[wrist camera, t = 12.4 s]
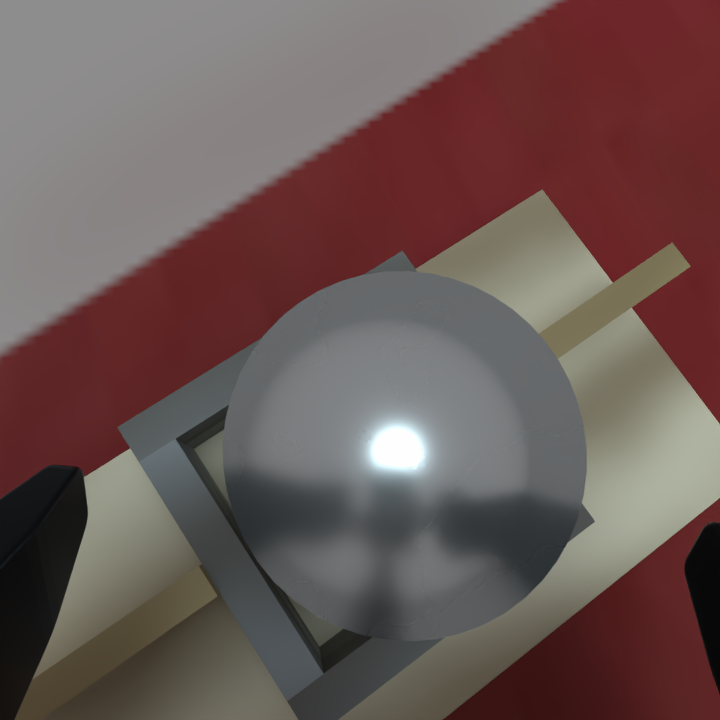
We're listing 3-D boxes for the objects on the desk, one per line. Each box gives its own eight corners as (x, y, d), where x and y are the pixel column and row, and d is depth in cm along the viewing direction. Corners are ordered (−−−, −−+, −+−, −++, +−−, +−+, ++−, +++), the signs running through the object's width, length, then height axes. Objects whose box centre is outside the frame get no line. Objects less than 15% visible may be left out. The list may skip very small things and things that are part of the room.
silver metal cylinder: (301, 596, 18) (304, 709, 8) (239, 429, 19) (170, 341, 9) (463, 525, 19) (648, 547, 9) (396, 367, 20) (497, 225, 10)
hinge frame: (733, 471, 21) (845, 463, 17) (160, 926, 17) (114, 1070, 13) (531, 202, 23) (587, 130, 18) (-44, 566, 19) (-148, 585, 14)
